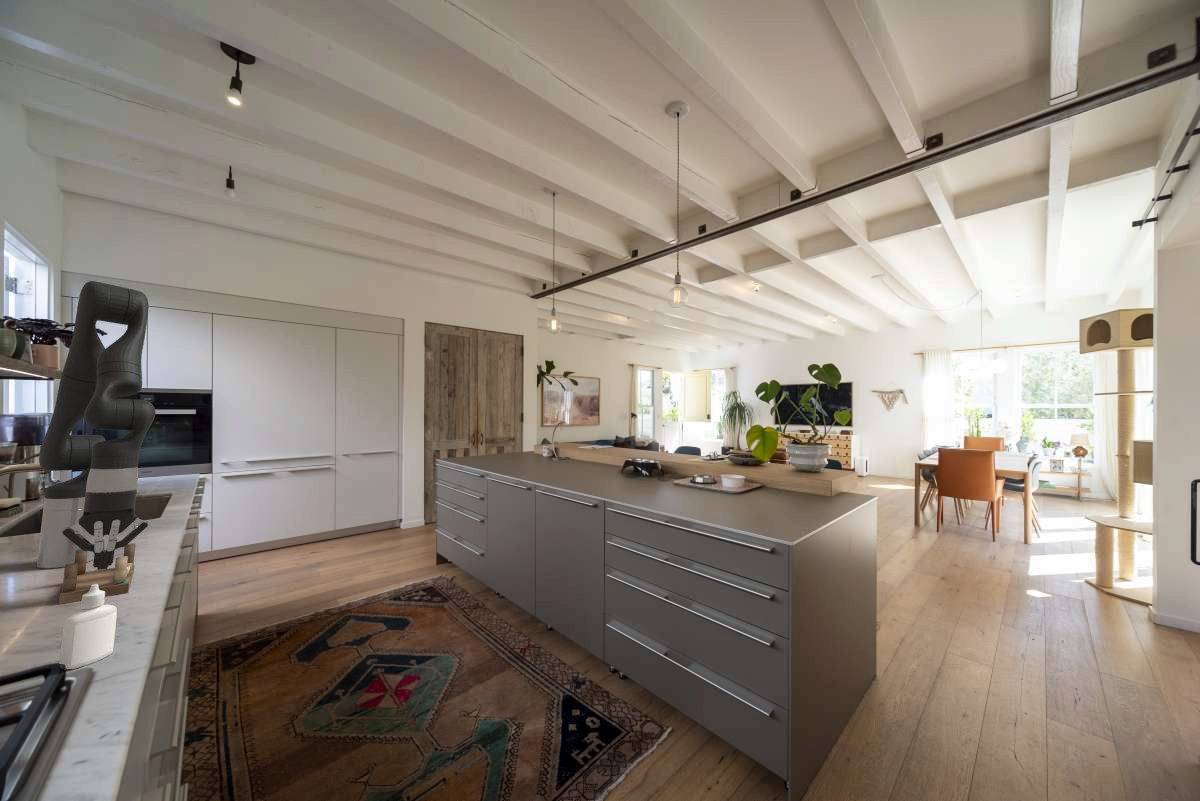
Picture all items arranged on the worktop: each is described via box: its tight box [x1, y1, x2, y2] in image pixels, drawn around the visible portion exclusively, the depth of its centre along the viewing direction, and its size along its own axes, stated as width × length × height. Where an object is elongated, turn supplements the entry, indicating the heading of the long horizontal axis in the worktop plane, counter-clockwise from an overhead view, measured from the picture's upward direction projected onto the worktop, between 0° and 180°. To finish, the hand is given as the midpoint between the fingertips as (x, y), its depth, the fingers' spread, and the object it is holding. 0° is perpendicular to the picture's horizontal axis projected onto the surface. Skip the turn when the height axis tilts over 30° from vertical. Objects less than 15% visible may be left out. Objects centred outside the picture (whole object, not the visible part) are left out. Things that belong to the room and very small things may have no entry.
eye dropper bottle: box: [58, 584, 118, 670], centre depth 69 cm, size 4×6×12 cm
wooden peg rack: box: [58, 543, 136, 605], centre depth 97 cm, size 16×10×8 cm, turn 44°
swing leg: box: [113, 555, 134, 583], centre depth 99 cm, size 11×2×5 cm, turn 41°
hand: (102, 568), depth 94 cm, fingers closed
